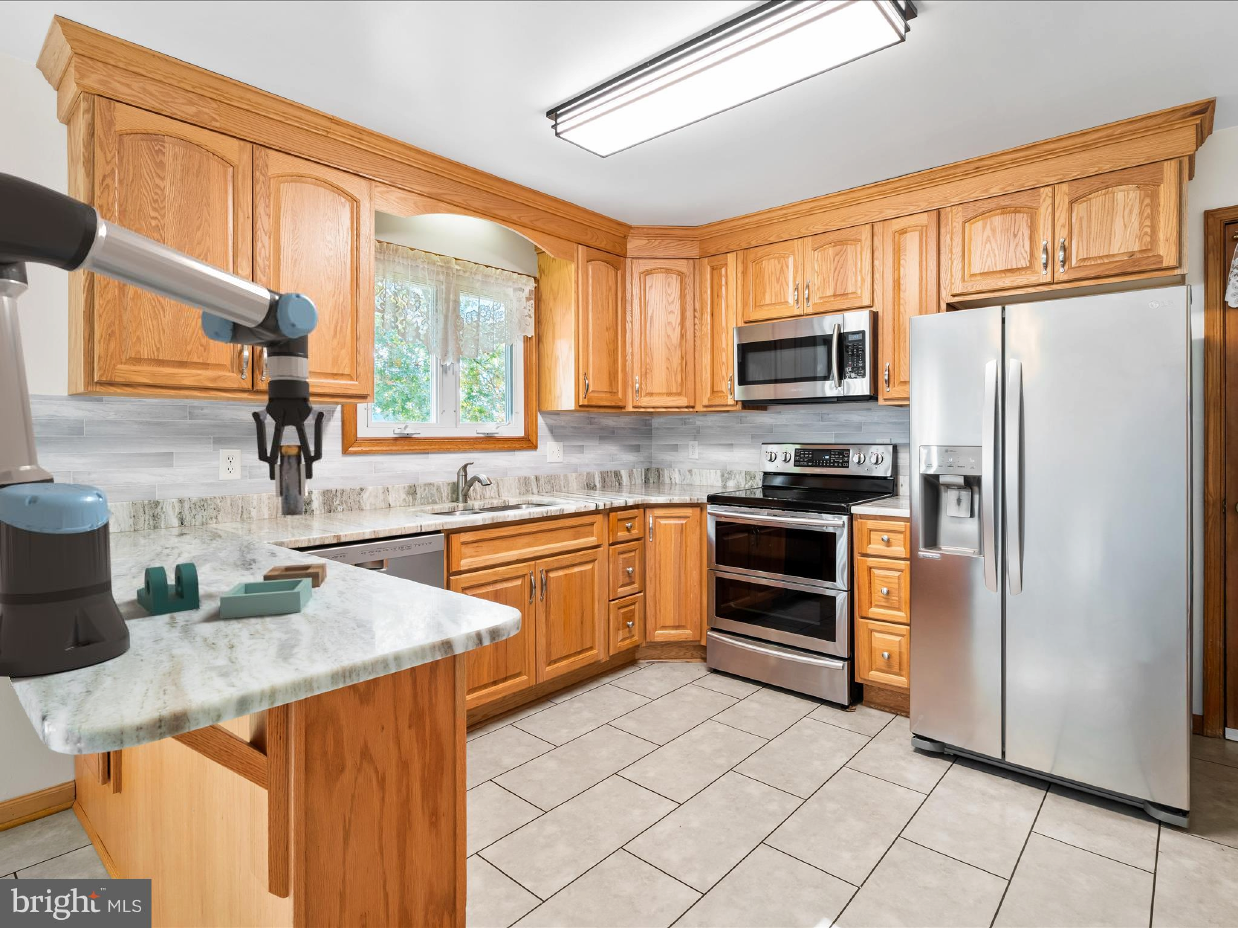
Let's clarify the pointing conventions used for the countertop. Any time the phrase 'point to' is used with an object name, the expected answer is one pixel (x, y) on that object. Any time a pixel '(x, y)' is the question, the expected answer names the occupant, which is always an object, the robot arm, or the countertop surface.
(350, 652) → the countertop surface
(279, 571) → the collar block
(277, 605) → the tray
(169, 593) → the bracket
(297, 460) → the hitch pin
